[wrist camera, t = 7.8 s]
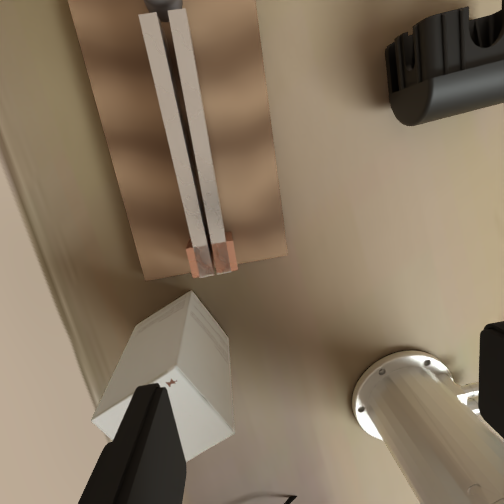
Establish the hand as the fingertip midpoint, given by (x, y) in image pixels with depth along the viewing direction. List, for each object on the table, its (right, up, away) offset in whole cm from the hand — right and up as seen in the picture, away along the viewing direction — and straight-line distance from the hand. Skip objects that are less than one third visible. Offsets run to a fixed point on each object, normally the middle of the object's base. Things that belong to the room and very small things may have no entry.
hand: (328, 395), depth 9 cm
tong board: (-8, +14, +19) cm, 25 cm away
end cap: (+15, +20, +20) cm, 32 cm away
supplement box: (-10, -4, +25) cm, 27 cm away
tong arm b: (-8, +12, +18) cm, 23 cm away
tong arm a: (-6, +12, +18) cm, 23 cm away
